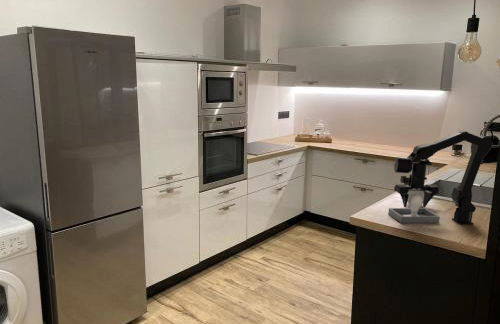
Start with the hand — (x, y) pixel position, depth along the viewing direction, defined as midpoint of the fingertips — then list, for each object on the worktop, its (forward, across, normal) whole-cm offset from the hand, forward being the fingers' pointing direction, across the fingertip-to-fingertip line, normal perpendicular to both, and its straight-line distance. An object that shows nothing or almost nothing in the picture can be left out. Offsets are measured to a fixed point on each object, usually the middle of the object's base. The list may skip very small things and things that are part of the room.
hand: (414, 207), depth 177 cm
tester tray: (+6, 0, 0) cm, 6 cm away
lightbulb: (+5, 0, 0) cm, 5 cm away
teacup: (+6, -13, -19) cm, 24 cm away
